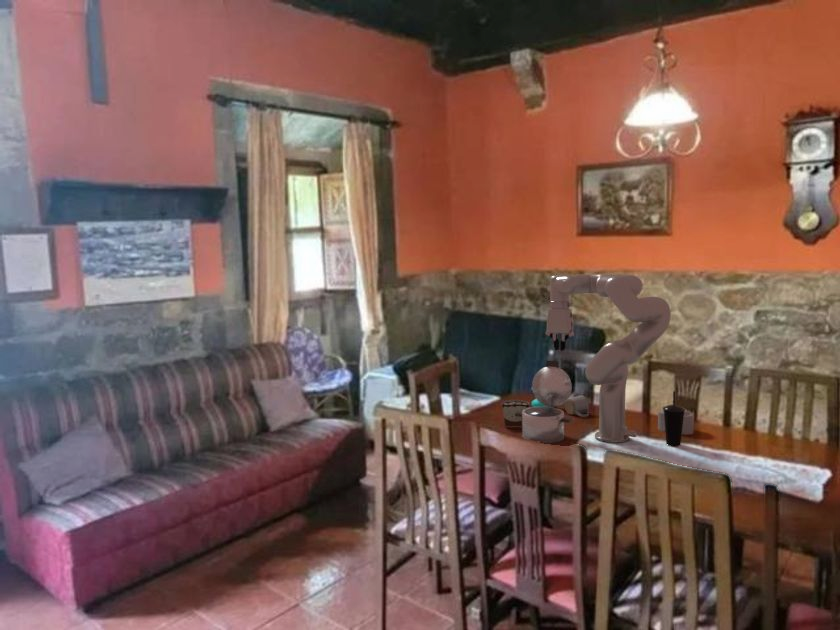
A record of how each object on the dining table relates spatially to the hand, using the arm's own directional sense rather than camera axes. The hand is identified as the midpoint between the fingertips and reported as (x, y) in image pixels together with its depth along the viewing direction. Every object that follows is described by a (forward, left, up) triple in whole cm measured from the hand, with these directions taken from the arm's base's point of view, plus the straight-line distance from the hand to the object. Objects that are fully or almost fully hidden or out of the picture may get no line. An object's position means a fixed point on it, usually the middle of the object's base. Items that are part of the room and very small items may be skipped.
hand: (559, 349), depth 270 cm
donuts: (+16, -23, -31) cm, 42 cm away
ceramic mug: (-2, -18, -31) cm, 36 cm away
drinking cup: (-46, +8, -31) cm, 56 cm away
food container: (+16, +9, -31) cm, 36 cm away
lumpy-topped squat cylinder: (-44, -11, -31) cm, 55 cm away
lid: (0, +10, -12) cm, 16 cm away
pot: (0, +20, -31) cm, 37 cm away
